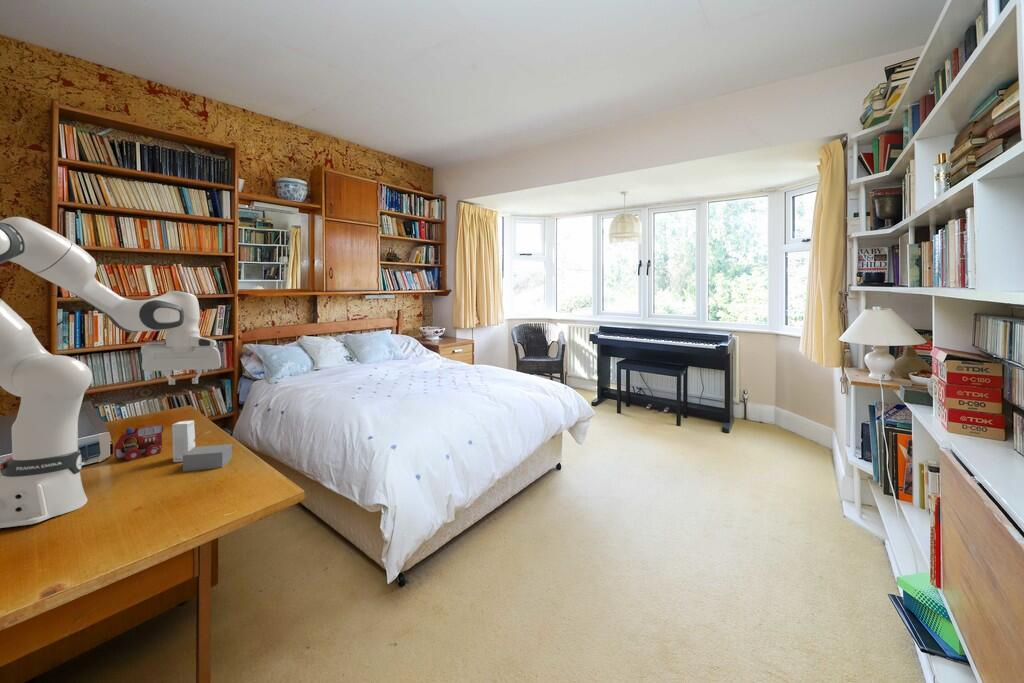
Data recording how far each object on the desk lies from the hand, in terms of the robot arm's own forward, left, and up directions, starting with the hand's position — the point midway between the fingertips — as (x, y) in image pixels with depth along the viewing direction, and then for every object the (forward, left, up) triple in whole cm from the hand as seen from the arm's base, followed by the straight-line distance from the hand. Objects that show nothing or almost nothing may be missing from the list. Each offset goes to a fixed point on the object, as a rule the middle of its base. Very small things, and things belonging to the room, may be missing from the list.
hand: (183, 384), depth 137 cm
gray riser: (+7, -11, -25) cm, 28 cm away
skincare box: (0, 0, -25) cm, 25 cm away
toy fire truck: (-13, +10, -25) cm, 30 cm away
